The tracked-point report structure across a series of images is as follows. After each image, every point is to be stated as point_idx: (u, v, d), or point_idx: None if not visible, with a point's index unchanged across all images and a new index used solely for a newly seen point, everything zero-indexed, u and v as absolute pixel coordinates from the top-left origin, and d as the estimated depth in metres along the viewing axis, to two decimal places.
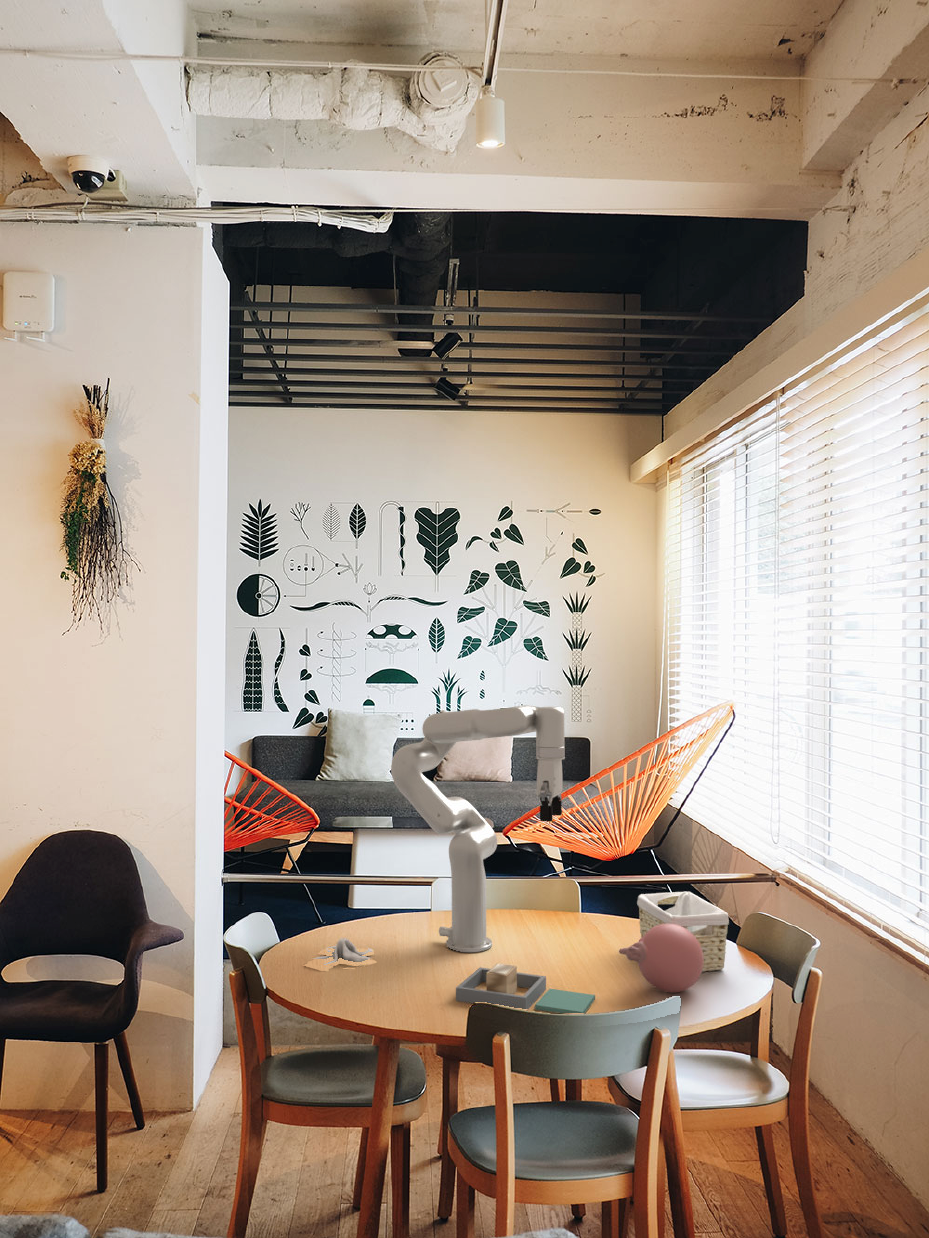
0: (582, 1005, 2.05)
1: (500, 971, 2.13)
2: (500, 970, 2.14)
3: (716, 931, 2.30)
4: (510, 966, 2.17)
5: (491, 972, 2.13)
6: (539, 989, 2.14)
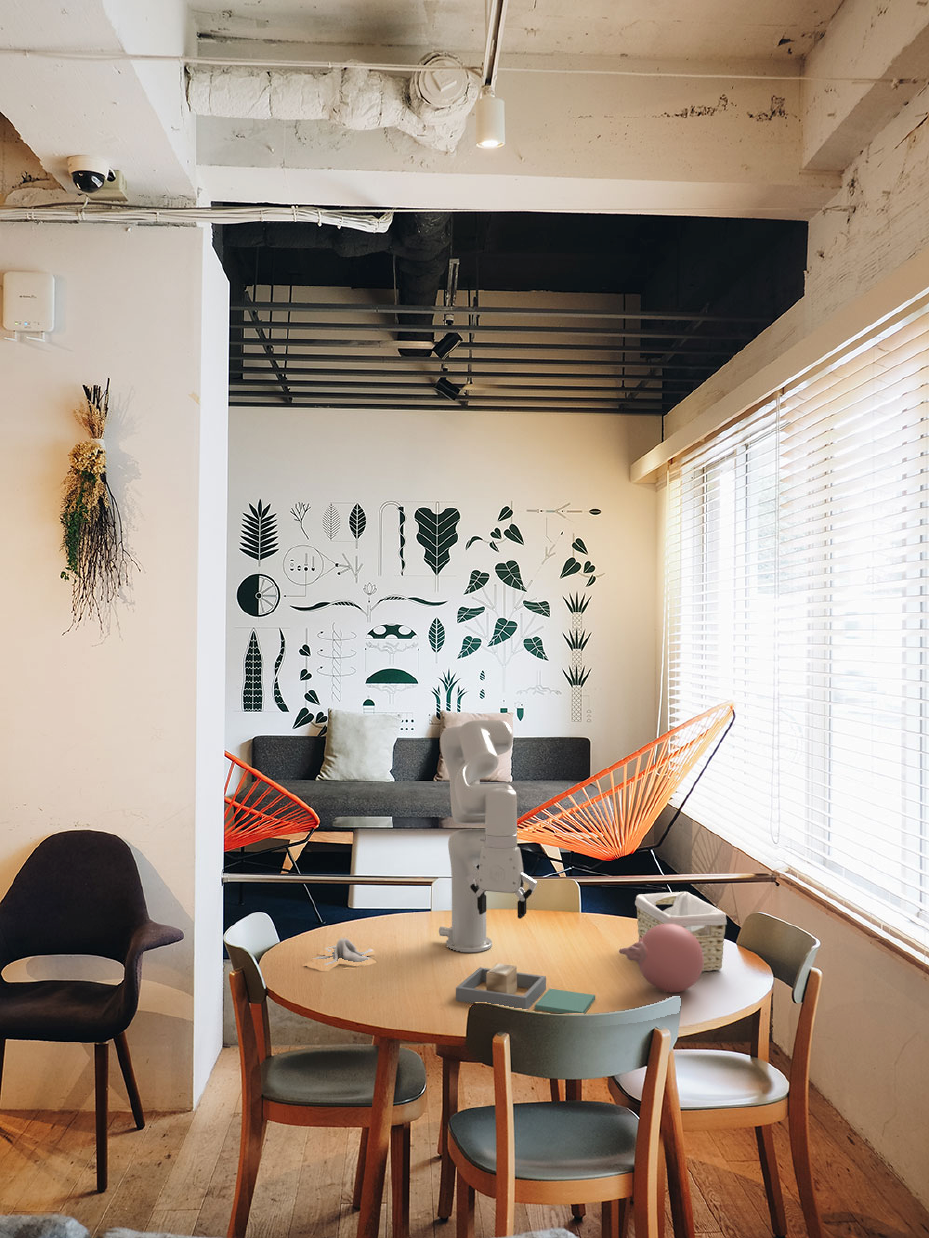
0: (582, 1005, 2.05)
1: (500, 971, 2.13)
2: (500, 970, 2.14)
3: (714, 931, 2.30)
4: (510, 966, 2.17)
5: (491, 972, 2.13)
6: (539, 989, 2.14)
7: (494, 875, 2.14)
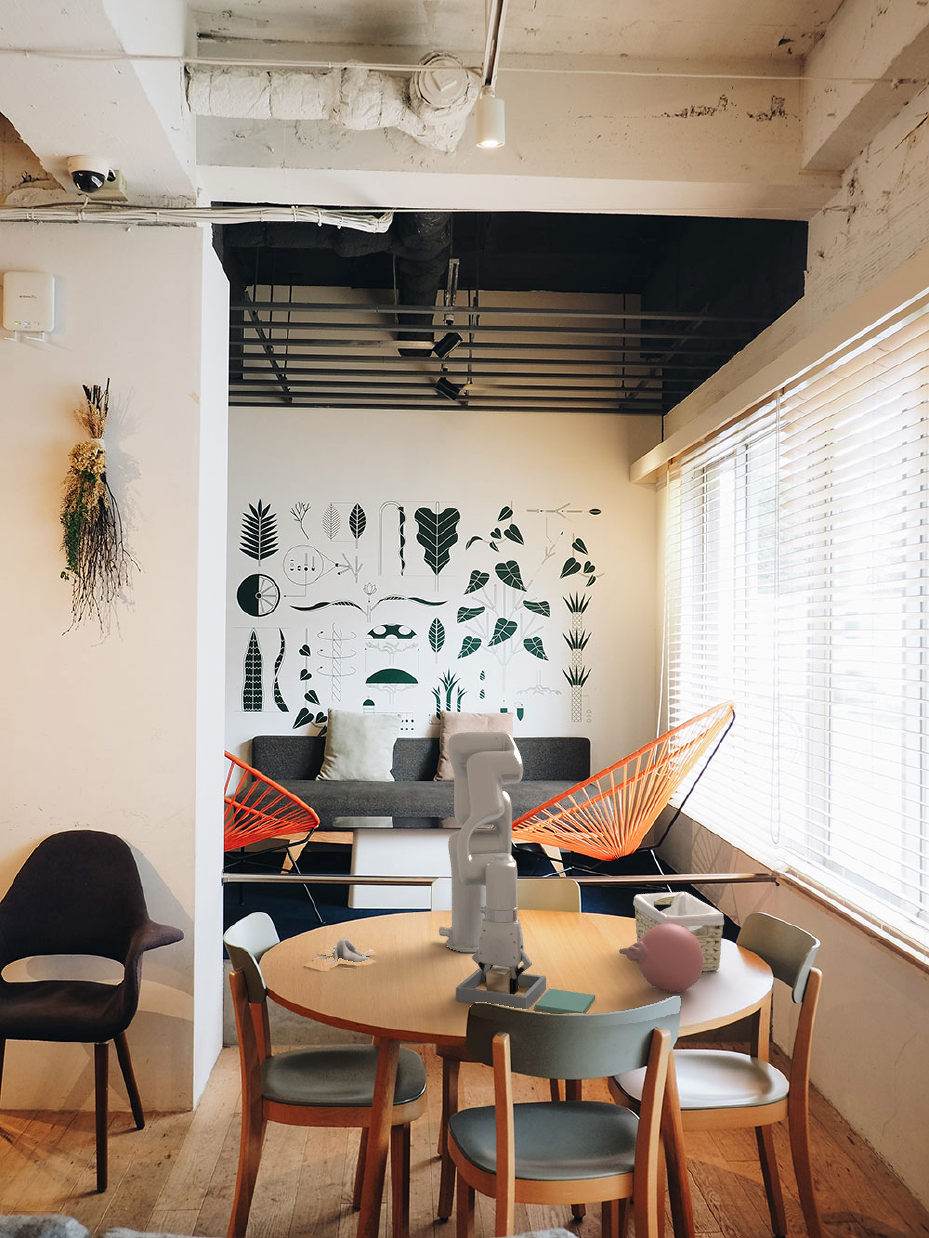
0: (582, 1005, 2.05)
1: (500, 971, 2.13)
2: (500, 970, 2.14)
3: (711, 931, 2.30)
4: None
5: (491, 972, 2.13)
6: (539, 989, 2.14)
7: (494, 949, 2.13)
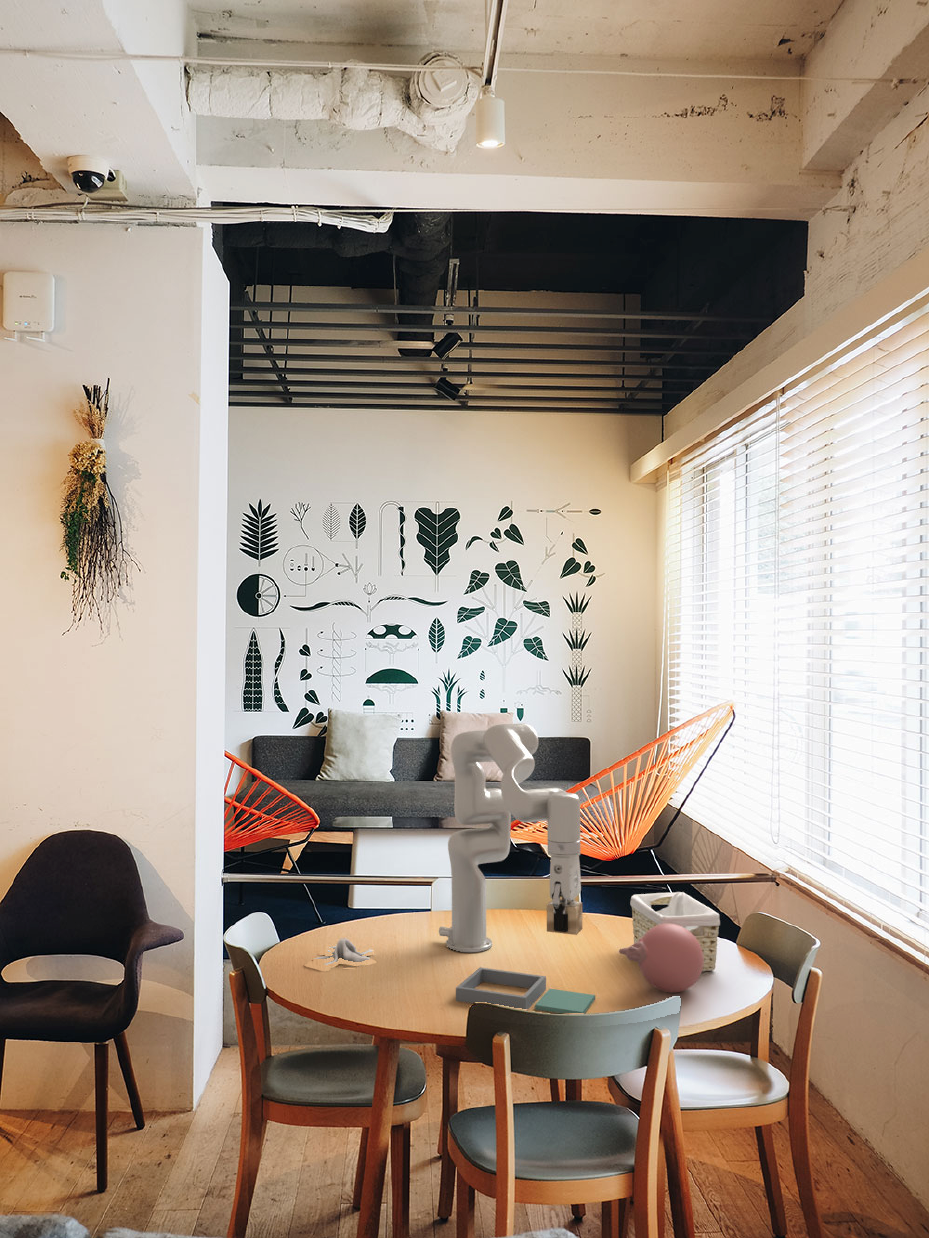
0: (582, 1005, 2.05)
1: (573, 903, 2.10)
2: (570, 903, 2.09)
3: (707, 932, 2.30)
4: None
5: (576, 906, 2.07)
6: (539, 989, 2.14)
7: (575, 881, 2.08)
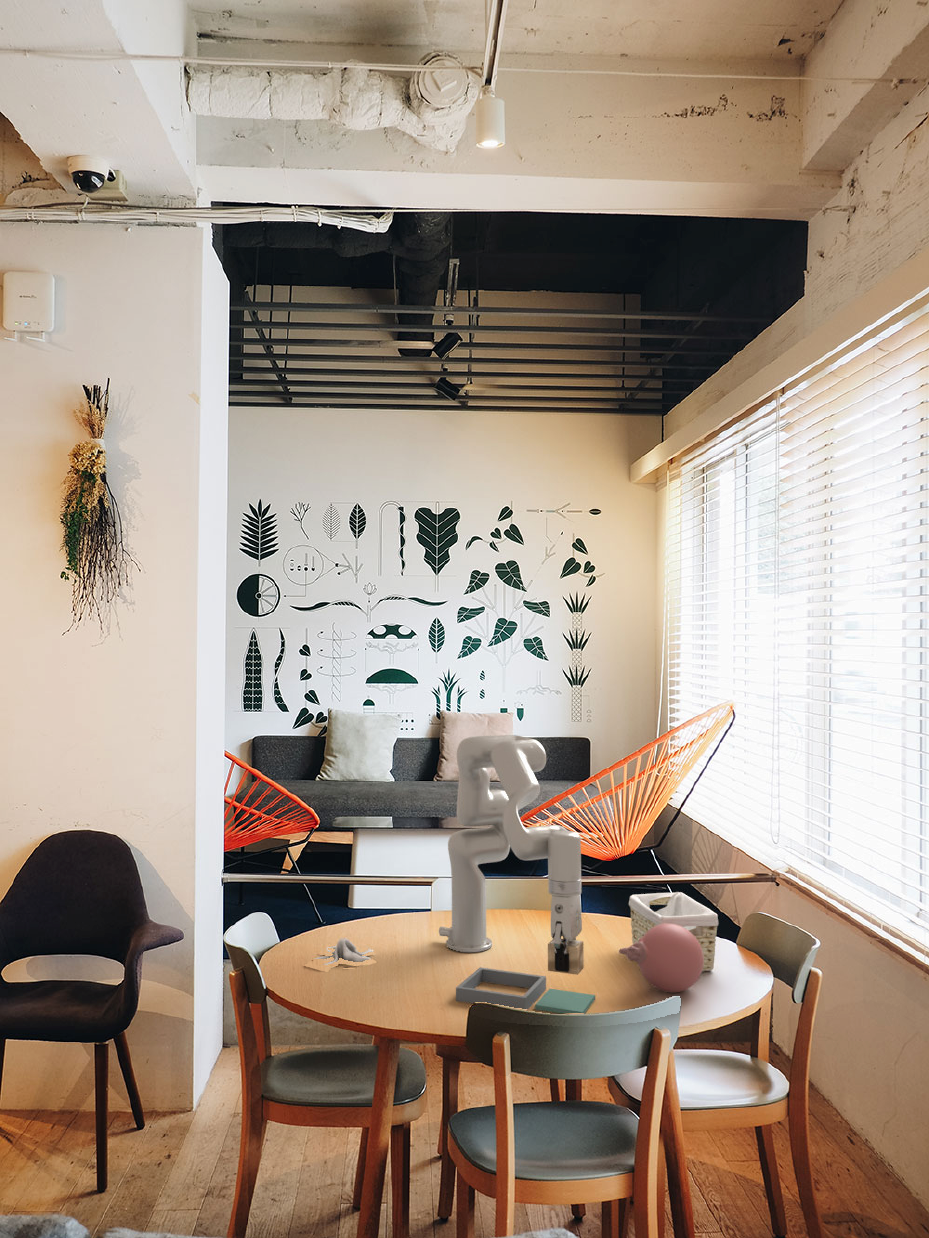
0: (582, 1005, 2.05)
1: (574, 942, 2.09)
2: (571, 942, 2.09)
3: (705, 932, 2.30)
4: None
5: (577, 945, 2.07)
6: (539, 989, 2.14)
7: (576, 921, 2.08)
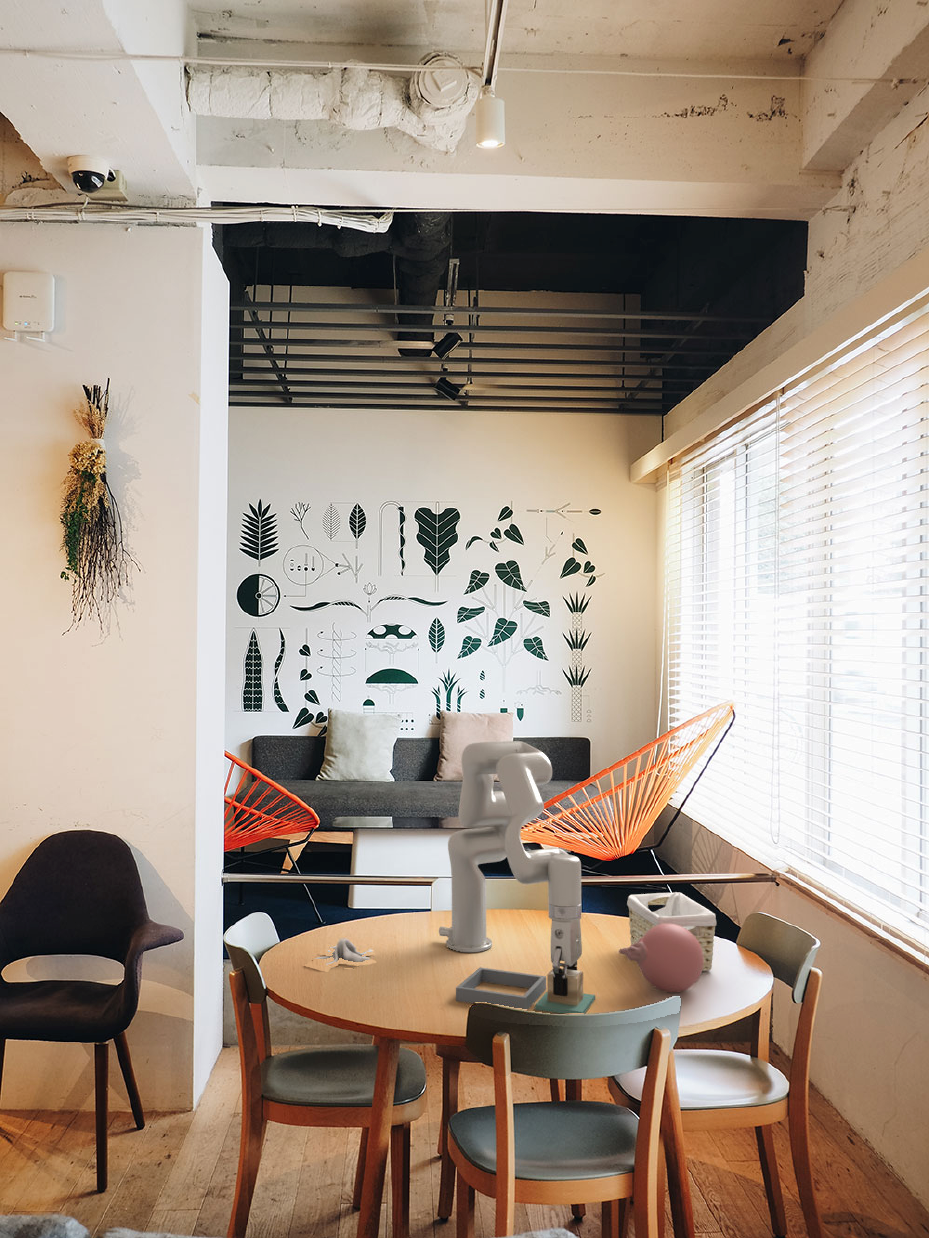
0: (582, 1005, 2.05)
1: (574, 972, 2.09)
2: (571, 972, 2.09)
3: (703, 932, 2.30)
4: None
5: (577, 976, 2.07)
6: (539, 989, 2.14)
7: (576, 945, 2.08)
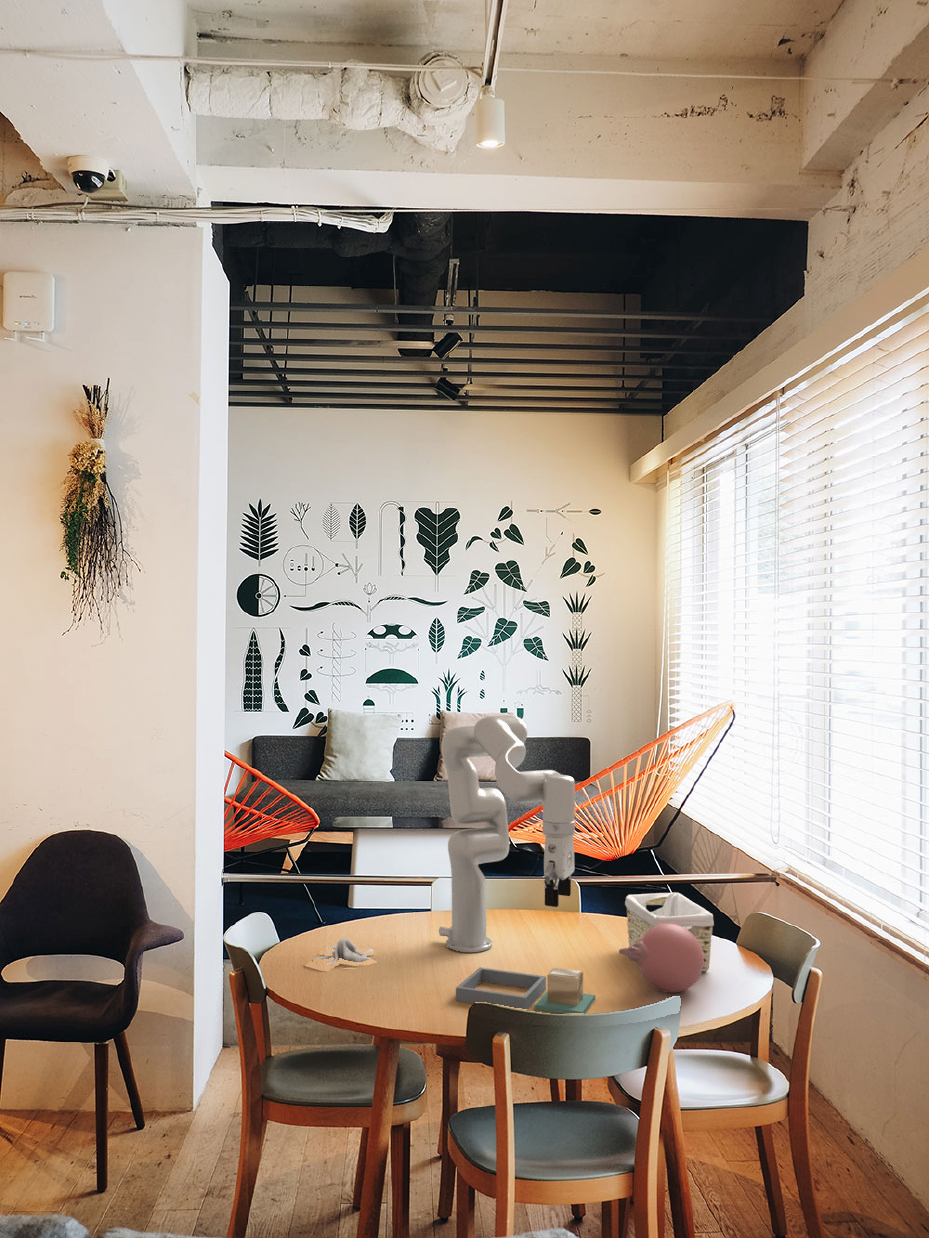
0: (582, 1005, 2.05)
1: (574, 972, 2.09)
2: (571, 972, 2.09)
3: (701, 932, 2.29)
4: (558, 968, 2.11)
5: (577, 976, 2.07)
6: (539, 989, 2.14)
7: (568, 861, 2.15)
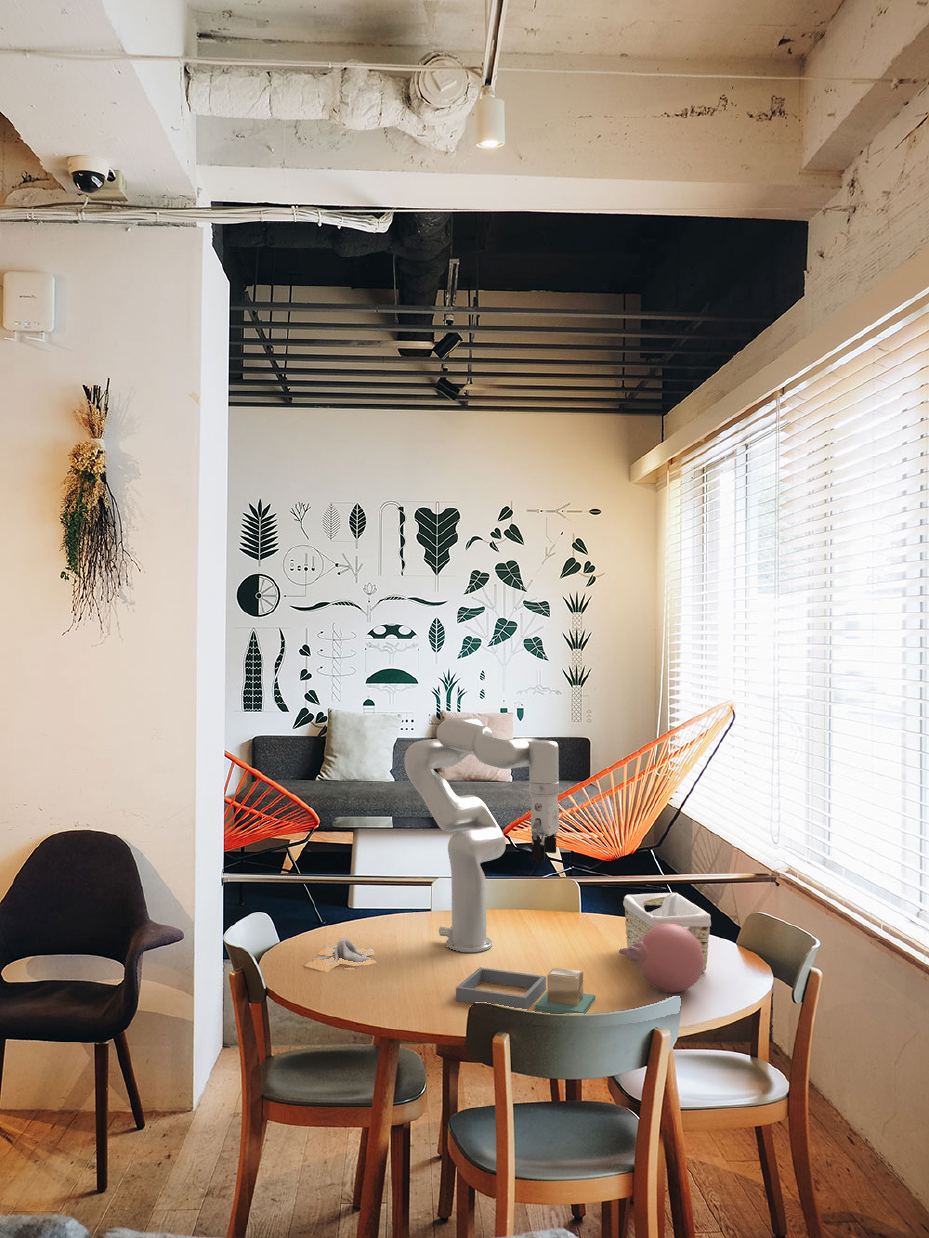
0: (582, 1005, 2.05)
1: (574, 972, 2.09)
2: (571, 972, 2.09)
3: (698, 933, 2.29)
4: (558, 968, 2.11)
5: (577, 976, 2.07)
6: (539, 989, 2.14)
7: (553, 819, 2.33)
